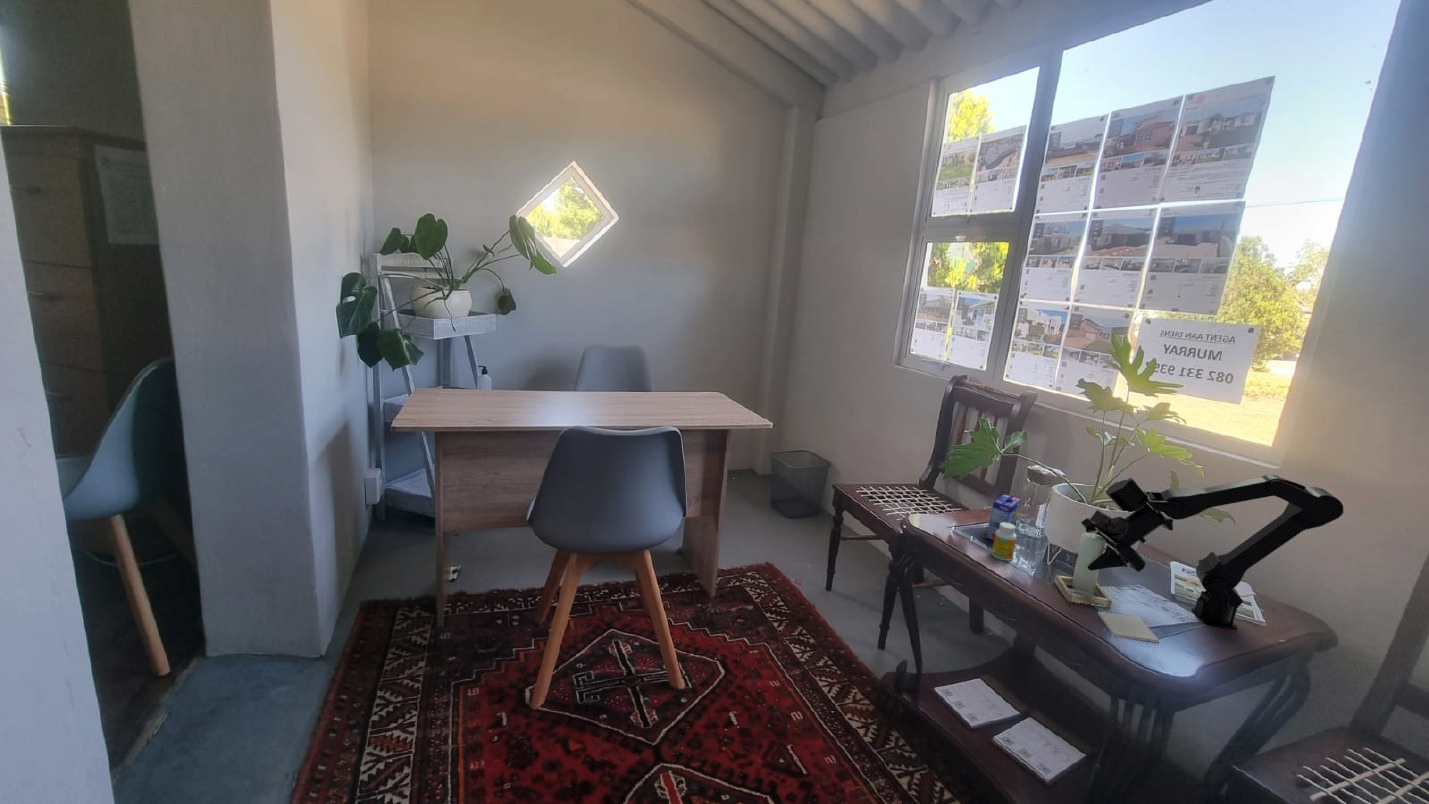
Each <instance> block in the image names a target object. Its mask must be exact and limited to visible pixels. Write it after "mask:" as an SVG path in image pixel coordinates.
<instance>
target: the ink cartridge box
mask: <svg viewBox="0 0 1429 804" xmlns="http://www.w3.org/2000/svg"><path fill="white" fill-rule="evenodd" d="M1016 493H1017V492H1015V493H1014V494H1012V495H1008V494H1002V495H1001V496H1000V497H998V498H997V499H995V500H994V501H993V503H992V508H991V513H990V517H989V518H990V519H989V522H988V527H987V532H986V535H985V536H986V538H987V539H990V540H992V541H994V539H995V533H996V531H997V530H999V526H1000V523H1002V522H1005V523H1010V524H1013V525H1014V526H1015V527H1016V525H1017V521H1018V515H1019V512H1020V507H1021V502H1022V499H1020V498H1017V497H1015V495H1016Z"/></svg>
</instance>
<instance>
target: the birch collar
mask: <svg viewBox="0 0 1429 804" xmlns="http://www.w3.org/2000/svg"><path fill="white" fill-rule="evenodd" d="M1072 581H1073V576H1072V577H1071V576H1064V575H1055V577H1054V581H1053V582H1054V584H1055V586H1056V587H1057V588H1058V589H1059V591H1060V592H1061V594H1062V596H1064V599H1066V601H1067V602H1068V603H1073V602H1075V604H1080V603H1086V604H1085V605H1087V604H1094V605H1101V606H1105V607H1104V608H1107V607H1110V608H1109V609H1111V606H1112V603H1113V600H1112V598H1111V597H1110V596H1109V595H1108V594H1107V593H1106V591H1105V590H1104V589H1103V588H1102V586H1101V585H1100V584H1099V583H1098V582H1097V583H1096V587H1095V592H1094V593H1095V594H1096V596H1093V595H1085V594H1079V593H1073V592H1072V591H1071V590H1070V589H1069V587H1068V586H1070V587H1073V586H1072ZM1097 595H1098V596H1097ZM1094 605H1093V606H1094Z"/></svg>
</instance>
